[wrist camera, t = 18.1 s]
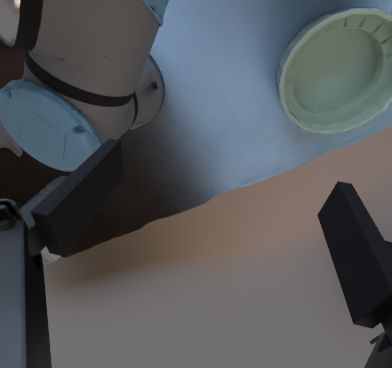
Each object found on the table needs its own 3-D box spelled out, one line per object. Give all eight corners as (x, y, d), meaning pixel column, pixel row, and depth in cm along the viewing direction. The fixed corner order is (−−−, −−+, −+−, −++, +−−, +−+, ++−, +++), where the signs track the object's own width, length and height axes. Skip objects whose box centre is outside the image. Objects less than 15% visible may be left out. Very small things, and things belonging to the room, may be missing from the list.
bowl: (255, 79, 40) (256, 88, 35) (346, -23, 30) (362, -29, 26) (318, 138, 44) (325, 152, 39) (415, 63, 34) (439, 70, 30)
